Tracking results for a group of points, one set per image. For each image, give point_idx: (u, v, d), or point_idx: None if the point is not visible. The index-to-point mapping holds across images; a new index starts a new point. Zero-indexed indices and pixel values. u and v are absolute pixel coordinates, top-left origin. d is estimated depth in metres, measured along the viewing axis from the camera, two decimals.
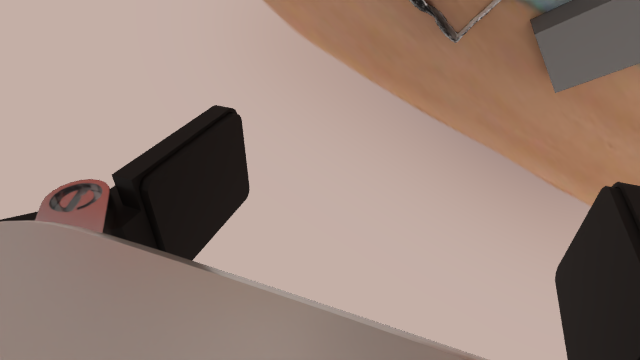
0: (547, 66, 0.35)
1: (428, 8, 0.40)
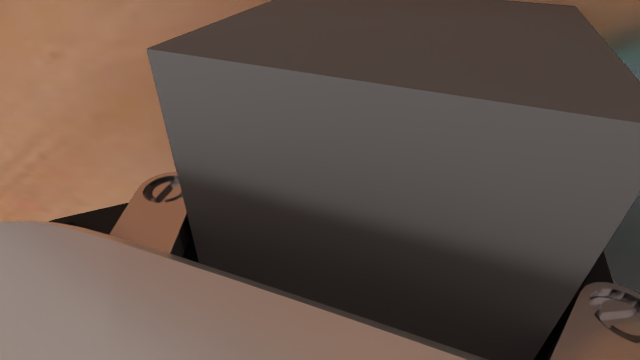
0: (338, 87, 0.04)
1: None
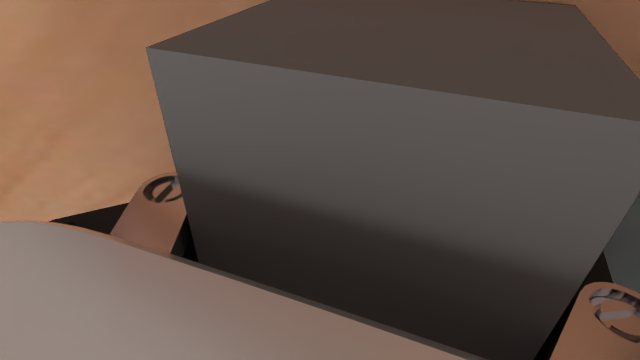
0: (338, 85, 0.04)
1: None
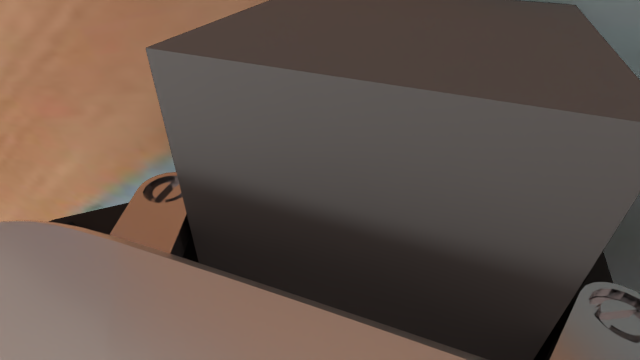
0: (338, 86, 0.04)
1: None
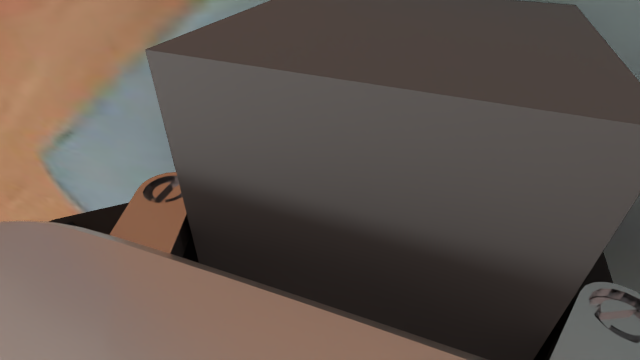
0: (337, 88, 0.04)
1: None
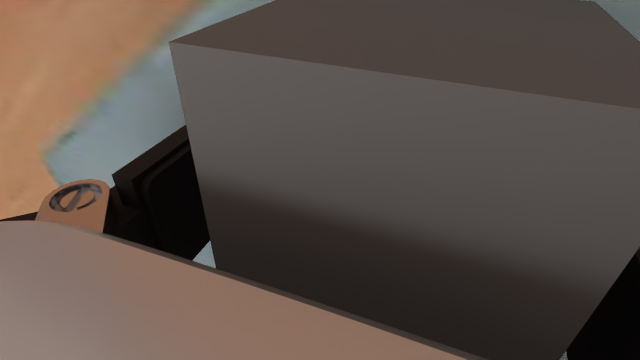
0: (368, 80, 0.04)
1: None
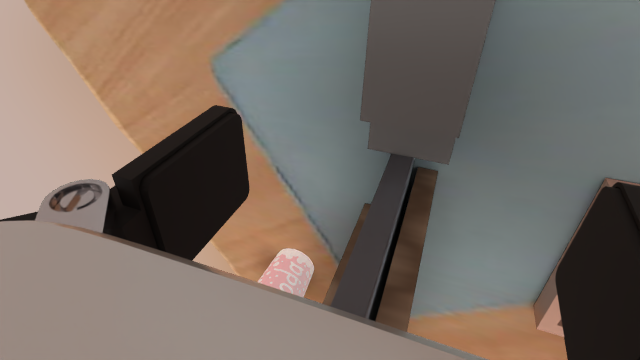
0: None
1: None
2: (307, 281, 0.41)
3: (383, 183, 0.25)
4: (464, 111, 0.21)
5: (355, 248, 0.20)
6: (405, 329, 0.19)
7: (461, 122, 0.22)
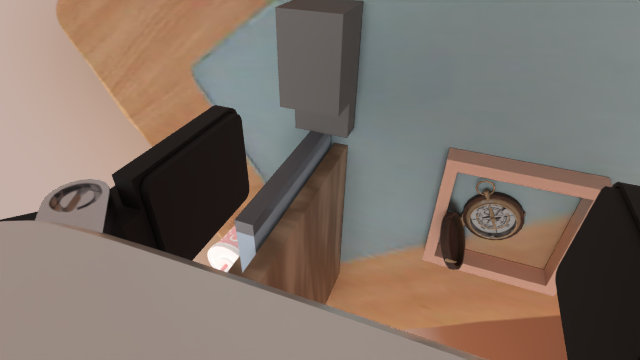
0: (305, 11, 0.31)
1: None
2: None
3: (298, 148, 0.38)
4: (338, 100, 0.34)
5: (267, 182, 0.34)
6: (293, 228, 0.32)
7: (337, 107, 0.35)
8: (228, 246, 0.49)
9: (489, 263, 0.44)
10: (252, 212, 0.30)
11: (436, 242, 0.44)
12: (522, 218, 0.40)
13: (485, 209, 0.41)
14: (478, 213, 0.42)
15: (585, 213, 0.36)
